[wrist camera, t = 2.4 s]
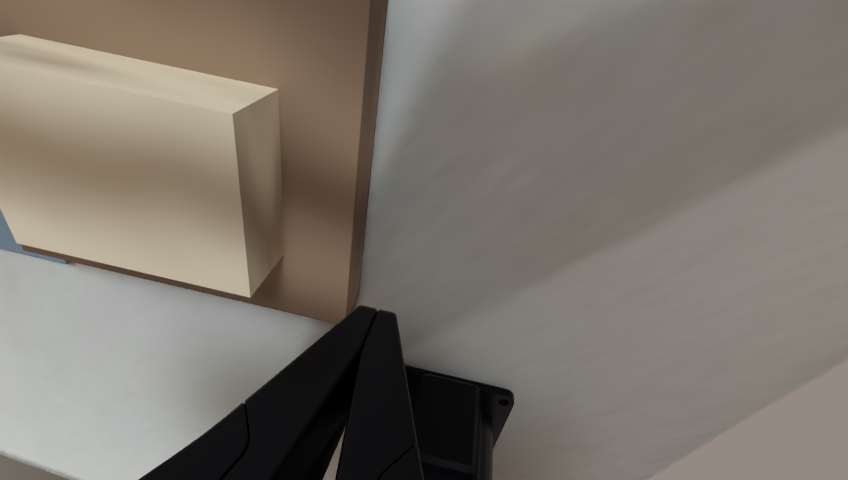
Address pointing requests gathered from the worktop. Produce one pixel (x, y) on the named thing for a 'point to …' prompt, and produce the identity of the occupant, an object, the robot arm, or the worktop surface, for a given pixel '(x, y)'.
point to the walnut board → (298, 113)
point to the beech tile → (140, 164)
